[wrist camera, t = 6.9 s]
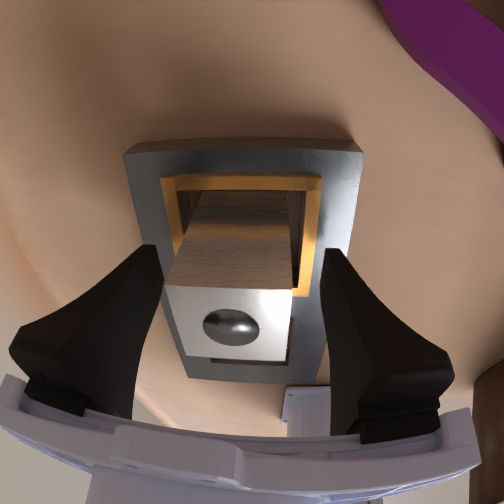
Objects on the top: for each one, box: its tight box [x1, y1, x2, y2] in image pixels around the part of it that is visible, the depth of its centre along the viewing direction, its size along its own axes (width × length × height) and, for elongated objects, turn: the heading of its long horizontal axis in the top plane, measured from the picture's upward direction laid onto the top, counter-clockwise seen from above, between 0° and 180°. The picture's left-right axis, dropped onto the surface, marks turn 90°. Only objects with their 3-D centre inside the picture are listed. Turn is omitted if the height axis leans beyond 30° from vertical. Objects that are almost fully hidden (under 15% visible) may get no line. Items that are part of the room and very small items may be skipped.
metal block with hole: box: [164, 191, 293, 361], centre depth 13 cm, size 4×4×7 cm
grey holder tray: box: [123, 137, 364, 384], centre depth 18 cm, size 18×10×2 cm, turn 1°
